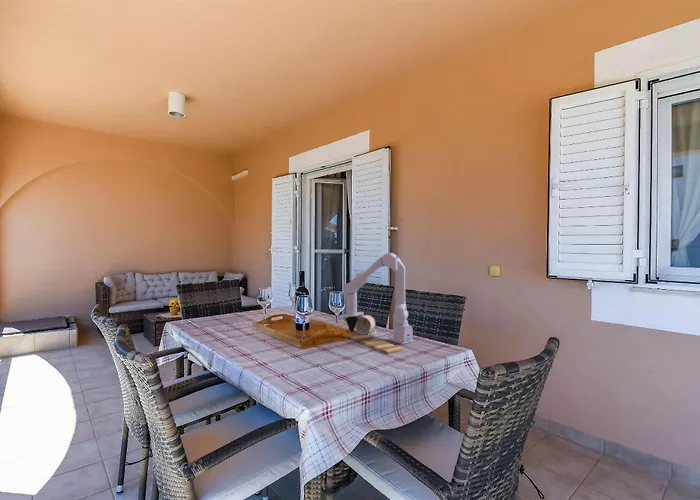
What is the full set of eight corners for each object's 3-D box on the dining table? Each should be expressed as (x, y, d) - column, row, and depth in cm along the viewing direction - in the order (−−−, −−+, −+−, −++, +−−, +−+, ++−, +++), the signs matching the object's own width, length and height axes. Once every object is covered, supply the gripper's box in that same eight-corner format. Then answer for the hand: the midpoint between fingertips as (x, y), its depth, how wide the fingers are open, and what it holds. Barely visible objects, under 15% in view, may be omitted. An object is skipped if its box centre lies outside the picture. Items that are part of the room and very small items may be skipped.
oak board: (402, 350, 167) (402, 347, 167) (388, 354, 161) (388, 350, 161) (374, 340, 183) (374, 337, 183) (360, 343, 177) (360, 340, 177)
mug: (356, 323, 203) (351, 326, 192) (366, 311, 202) (361, 313, 191) (373, 338, 199) (368, 341, 189) (383, 326, 198) (379, 328, 188)
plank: (373, 340, 183) (373, 337, 183) (359, 343, 178) (359, 340, 178) (354, 333, 196) (354, 330, 196) (340, 336, 191) (341, 333, 191)
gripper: (357, 302, 198) (357, 327, 198) (335, 305, 189) (335, 331, 190) (366, 304, 192) (366, 330, 193) (343, 307, 183) (343, 334, 184)
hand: (351, 331), depth 191 cm, fingers closed
